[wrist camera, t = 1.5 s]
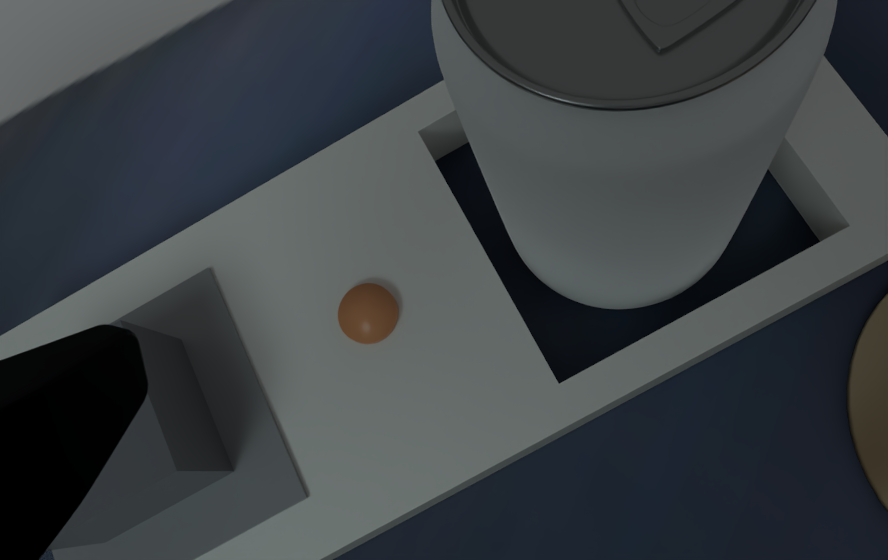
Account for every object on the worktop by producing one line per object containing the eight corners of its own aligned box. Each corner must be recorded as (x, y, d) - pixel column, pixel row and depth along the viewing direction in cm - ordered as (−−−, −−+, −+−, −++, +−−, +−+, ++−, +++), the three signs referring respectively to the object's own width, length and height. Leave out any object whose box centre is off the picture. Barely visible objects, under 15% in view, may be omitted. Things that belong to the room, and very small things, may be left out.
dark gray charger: (236, 471, 21) (177, 470, 18) (108, 542, 21) (29, 552, 18) (184, 340, 22) (120, 320, 19) (63, 408, 22) (-18, 398, 19)
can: (643, 59, 23) (675, -335, 12) (786, 226, 21) (987, -56, 10) (464, 182, 24) (328, -90, 12) (589, 358, 22) (567, 231, 10)
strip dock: (917, 244, 21) (956, 215, 18) (144, 660, 22) (90, 682, 20) (708, -30, 24) (719, -85, 21) (41, 353, 25) (-17, 340, 23)
